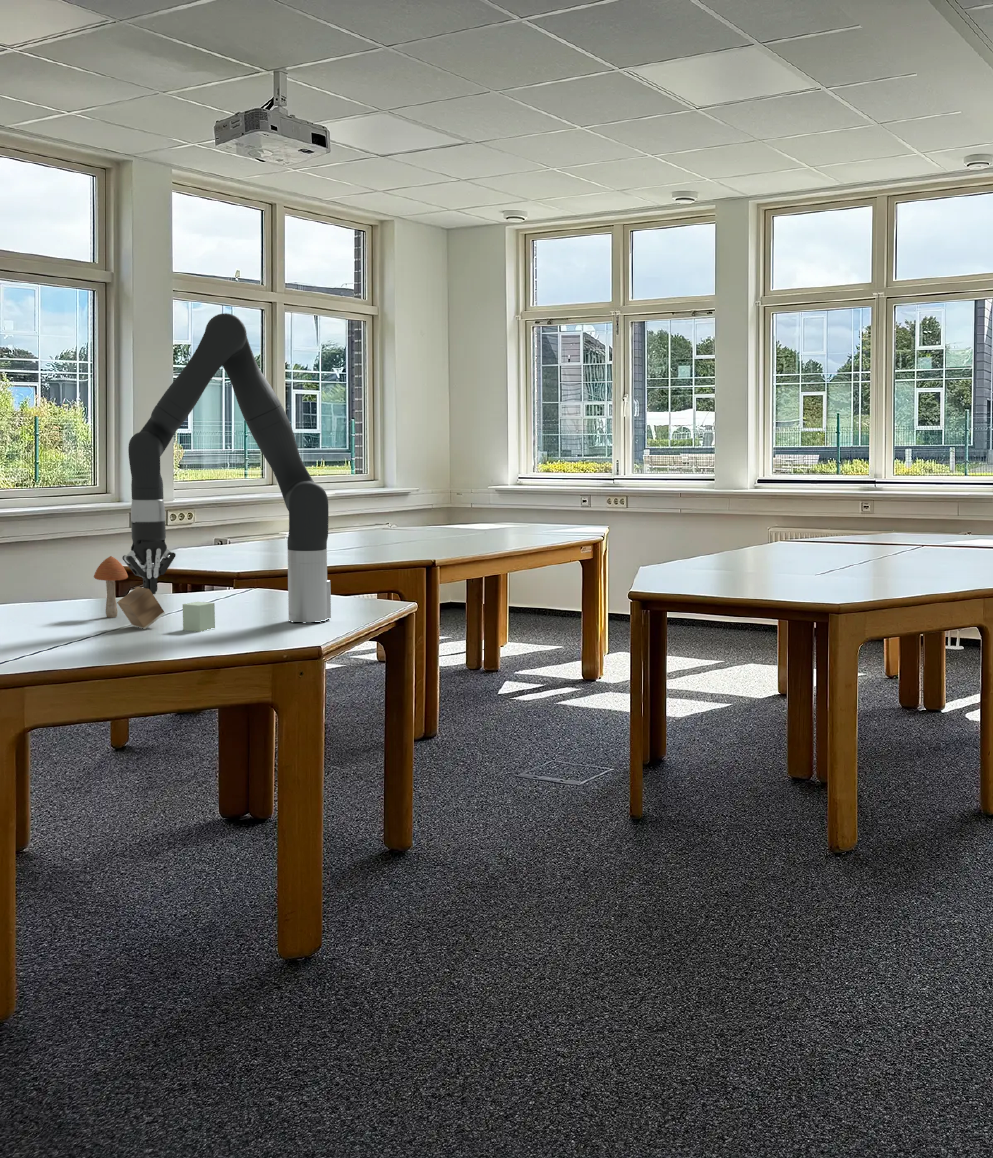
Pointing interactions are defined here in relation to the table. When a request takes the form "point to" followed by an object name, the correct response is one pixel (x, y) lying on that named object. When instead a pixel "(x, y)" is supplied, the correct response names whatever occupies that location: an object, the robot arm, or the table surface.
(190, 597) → the table surface
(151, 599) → the walnut block
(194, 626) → the sage block
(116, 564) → the mushroom
